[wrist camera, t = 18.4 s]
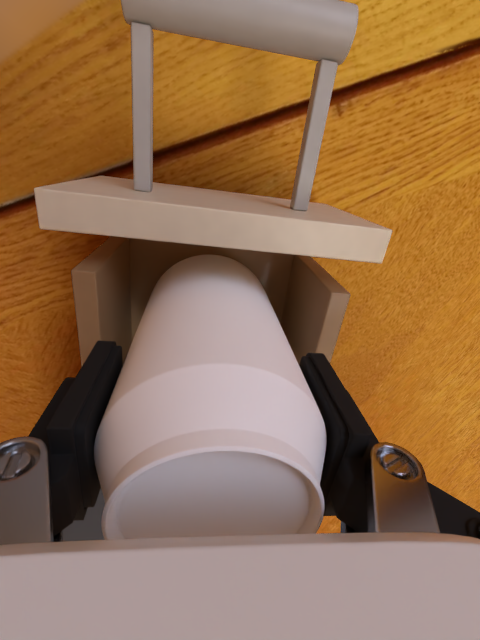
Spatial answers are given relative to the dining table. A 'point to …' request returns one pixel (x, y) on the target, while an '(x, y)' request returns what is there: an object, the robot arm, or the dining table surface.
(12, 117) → the dining table surface
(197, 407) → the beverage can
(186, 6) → the drawer
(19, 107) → the dining table surface
